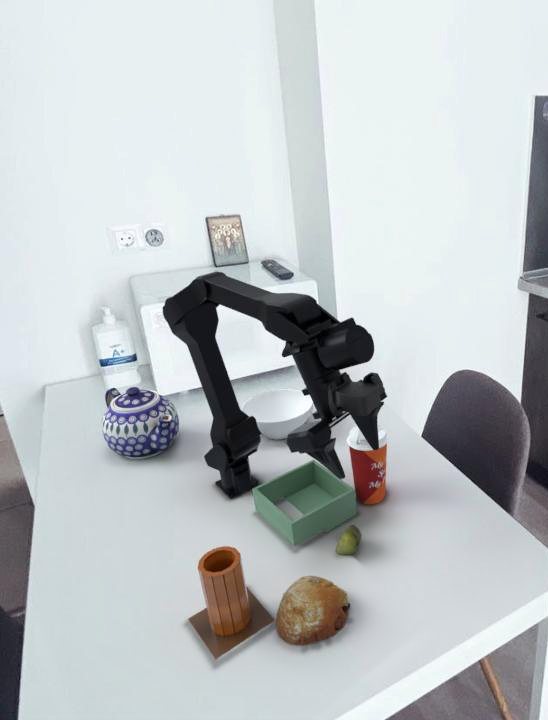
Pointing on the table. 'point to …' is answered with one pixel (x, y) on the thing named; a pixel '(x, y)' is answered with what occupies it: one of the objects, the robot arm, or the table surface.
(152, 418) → the teapot
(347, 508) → the bin
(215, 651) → the stand
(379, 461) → the paper cup
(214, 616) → the slatted orange pencil cup
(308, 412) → the bowl
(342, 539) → the lime
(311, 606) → the bread roll
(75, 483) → the table surface
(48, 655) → the table surface
